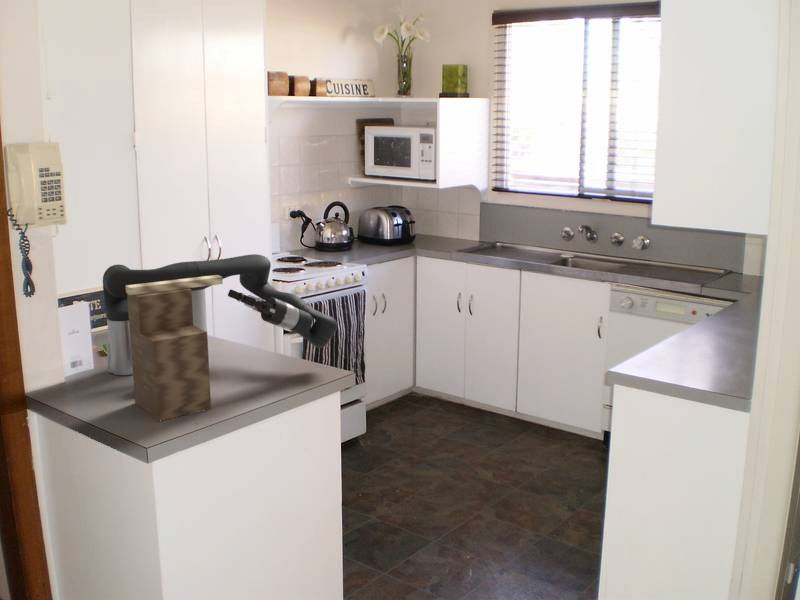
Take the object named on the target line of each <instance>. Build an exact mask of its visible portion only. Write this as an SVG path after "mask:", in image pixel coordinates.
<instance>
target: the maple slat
mask: <svg viewBox="0 0 800 600" xmlns="http://www.w3.org/2000/svg"><path fill="white" fill-rule="evenodd" d="M210 285H212V286H216V285H217V286H218V285H223V279H222V277H221V276H219V275H212V276H203V277H195V278H186V279H177V280H169V281H160V282H151V283H143V284H134V285H126V293H127V294H129V295H137V294H145V293H153V292H161V291H169V290H177V289H186V288H194V287H202V286H210ZM210 287H211V286H210Z"/></svg>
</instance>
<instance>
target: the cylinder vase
mask: <svg viewBox="0 0 800 600" xmlns="http://www.w3.org/2000/svg"><path fill="white" fill-rule="evenodd" d="M206 306H207V304H206V288H205V289H203V290H196V291H192V309H193V325H194V326H196V327H198V328H200V329H202V330H204V331H206V332H207V333H208V323H207V322H208V321H207V307H206Z"/></svg>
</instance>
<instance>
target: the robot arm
mask: <svg viewBox="0 0 800 600" xmlns="http://www.w3.org/2000/svg"><path fill="white" fill-rule="evenodd" d="M271 266H272V265H271V261H270V259H269V258H268V257H267V256H264V255H262V254H245V255H239V256H235V257H227V258H220V259H211V260H209V259H208V260H194V261H193V260H192V261H182V262H175V263H172V264H167V265H164V266H161V267H159V268H158V267H157V268H152V269H131V268H129V267H128V266H126V265H124V264H113V265H110V266H109V267H108V268H106V269H105V272H104V273H103V276H102V290H103V291H102V292H103V299H104V309H105V313H106V321H107V322H106V323H107V333H108V334H107V335H108V341H107V342H106V343H105V344H106V349H107V356H106V357H107V358H106V359H107V360H106V361H107V371H108V373H109V374H110V373H111V374H112V373H113V374H112V375H115V376H129V375H131V376H132V375H133V367H132V354H131V340H130V326H129V312H128V298H127V293H126V285H134V284H143V283H151V282H160V281H169V280H177V279H186V278H195V277H203V276H212V275H219V276H221V277H222V280H224V279H226V278H229V277H232V276H239V278H238V279H239V284H240V285H241V286H242V287H243V288H244V289H245V290H246V291H248V292H250V293H251V294H253V295H251V294H248V295H247V294H245V293H243V292H238V291H237V290H234V289H231V288H230V289H229V291H228V293H227V296H228V297H229V298H231V299H234V300H236V301H237V302H239V303H242V304H244V306H246V307H248V308H251V309H252V311H255V312H257V313H260V317H261V319H262V321H264V322H265V323H269V324H271V325H273V326H276V327H278V328H281V329H285V330H289V331H292V332H293V333H296V334H298V335H299V336H301V337H302V338H303V339H305V340H307V341H308V343H310V344H311V345H312V346H314V347H315V348H319V349H321V348H325V347H326V346H327V345H328V344H329V342H330V340H331V339H332V338H333V336H334V335H335V333H336V332H337V329H338V325H339V324H338V322H337V320H336V318H334V317H332V316H331V315H329V314H326V313H323V312H321V311H318V310H316V309H315V308H313V307H312V306H311V305H309V304H308V303H307V302H306V301H304V300H303V299H302V298H301V297H299V296H298V295H296V294H293V293H290V292H284V291H279V290H277V289H276V288H275V287H273V286H272V285H271V283H270V282H269V276H270V272H271V268H272V267H271ZM211 286H213V285H210V286H202V287H194V288H189V289H191V291H196V290H203V289H205V290H206V289H208V288H209V287H211ZM254 295H255V296H256V297H255V296H254ZM313 321H314V323H313Z"/></svg>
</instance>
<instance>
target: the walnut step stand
mask: <svg viewBox="0 0 800 600" xmlns="http://www.w3.org/2000/svg"><path fill="white" fill-rule="evenodd" d="M127 298H128V312H129V326H130V340H131V354H132V367H133V374H132V379H133V392H134V404H135V405H137V406H138V407H139V408H140V409H142V410H143V411H144V412H146V414H148V415H149V414H150V415H149V416H151V417H152V418H153V419H154V418H155V420H156V421H157V422H161V421H160V420H163V421H165V419H167V420H170V419H169V418H171V419H175V418H174V417H176V418H178V417H177V416H180V417H183V416H182V415H184V416H188V415H187V414H189V415H191V414H190V413H193V414H196V413H195V412H198V411H202V412H204V411H203V410H206V411H210V410H209V409H211V410H212V401H211V400H212V399H211V380H210V378H211V377H210V361H209V342H208V331H207V332H206V331H204V330H202V329H200V328H198V327H196V326H194V325H193V309H192V291H191V289H189V288H186V289H177V290H169V291H161V292H153V293H145V294H137V295H129V294H127ZM198 413H199V412H198Z"/></svg>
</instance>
